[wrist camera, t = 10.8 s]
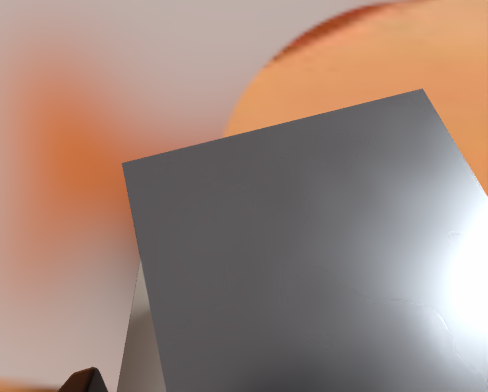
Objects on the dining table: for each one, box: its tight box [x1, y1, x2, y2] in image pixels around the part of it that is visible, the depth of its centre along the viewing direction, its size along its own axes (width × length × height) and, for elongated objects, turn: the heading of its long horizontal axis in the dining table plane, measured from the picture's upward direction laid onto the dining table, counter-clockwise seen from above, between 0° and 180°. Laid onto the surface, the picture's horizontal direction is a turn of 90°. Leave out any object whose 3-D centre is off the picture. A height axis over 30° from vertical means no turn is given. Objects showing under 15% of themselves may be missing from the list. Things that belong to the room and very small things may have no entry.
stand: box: [117, 259, 166, 392], centre depth 17 cm, size 12×12×3 cm
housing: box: [122, 89, 488, 392], centre depth 11 cm, size 6×6×10 cm
